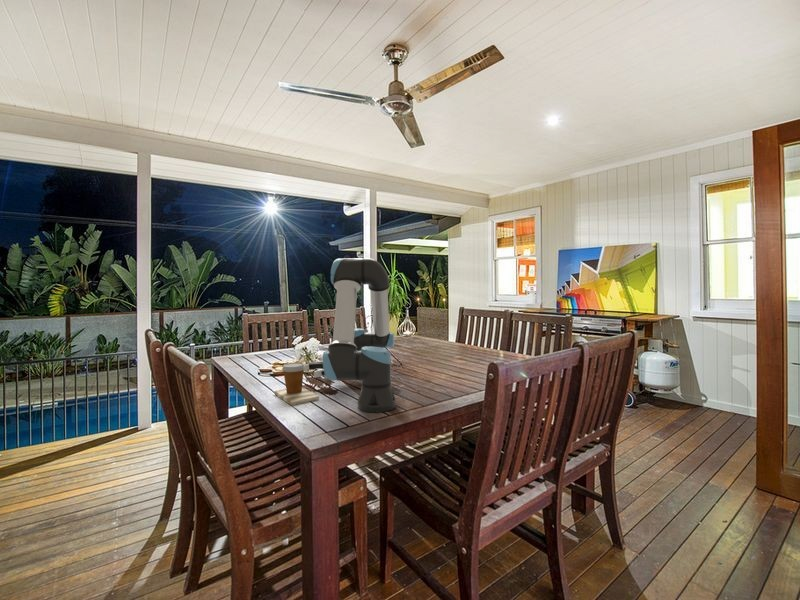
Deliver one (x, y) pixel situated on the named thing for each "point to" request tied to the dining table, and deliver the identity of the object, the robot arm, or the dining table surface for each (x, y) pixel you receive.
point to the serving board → (297, 396)
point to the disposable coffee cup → (293, 377)
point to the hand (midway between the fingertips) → (305, 371)
